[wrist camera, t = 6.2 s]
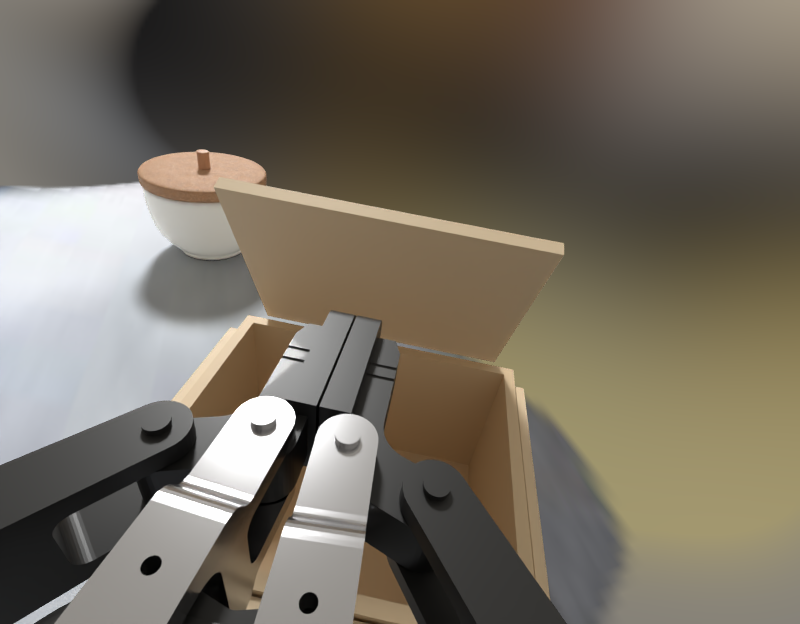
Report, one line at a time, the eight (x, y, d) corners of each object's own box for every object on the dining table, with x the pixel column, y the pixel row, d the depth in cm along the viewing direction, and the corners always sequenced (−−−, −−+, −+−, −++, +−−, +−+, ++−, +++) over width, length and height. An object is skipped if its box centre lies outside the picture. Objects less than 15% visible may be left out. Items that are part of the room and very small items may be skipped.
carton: (107, 658, 17) (34, 563, 12) (249, 414, 27) (239, 313, 22) (487, 752, 16) (564, 689, 11) (483, 465, 26) (522, 371, 22)
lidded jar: (158, 223, 45) (139, 131, 40) (263, 221, 49) (259, 137, 44) (149, 276, 37) (124, 170, 32) (275, 269, 41) (272, 173, 36)
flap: (268, 315, 22) (213, 186, 14) (271, 307, 23) (219, 176, 15) (494, 362, 22) (564, 255, 14) (495, 353, 22) (564, 243, 14)
